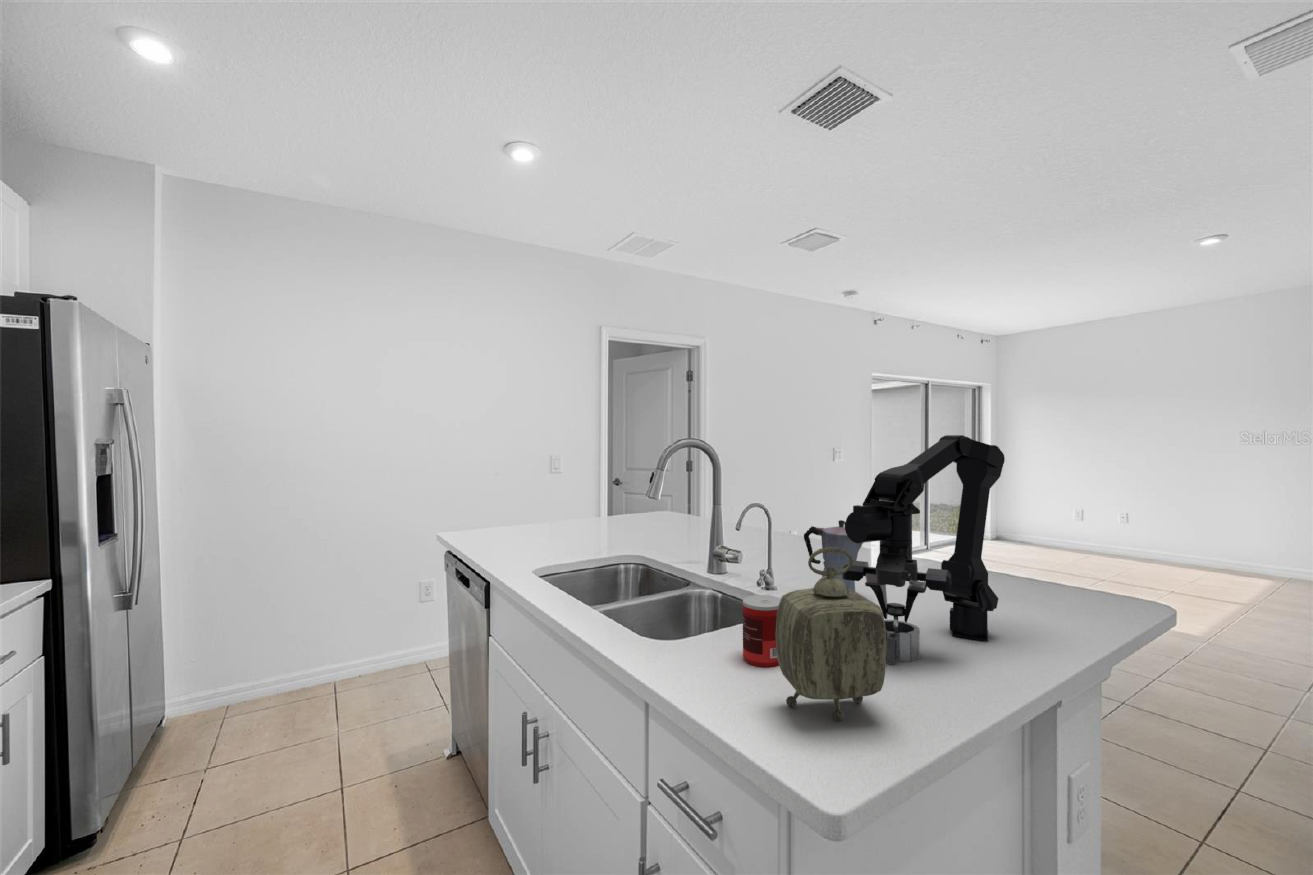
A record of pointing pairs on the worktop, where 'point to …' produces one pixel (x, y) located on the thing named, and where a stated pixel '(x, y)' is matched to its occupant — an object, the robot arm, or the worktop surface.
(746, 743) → the worktop surface
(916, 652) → the press carafe
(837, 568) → the moka pot
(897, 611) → the plunger
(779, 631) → the tabletop clock
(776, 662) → the canned food
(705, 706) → the worktop surface
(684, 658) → the worktop surface
